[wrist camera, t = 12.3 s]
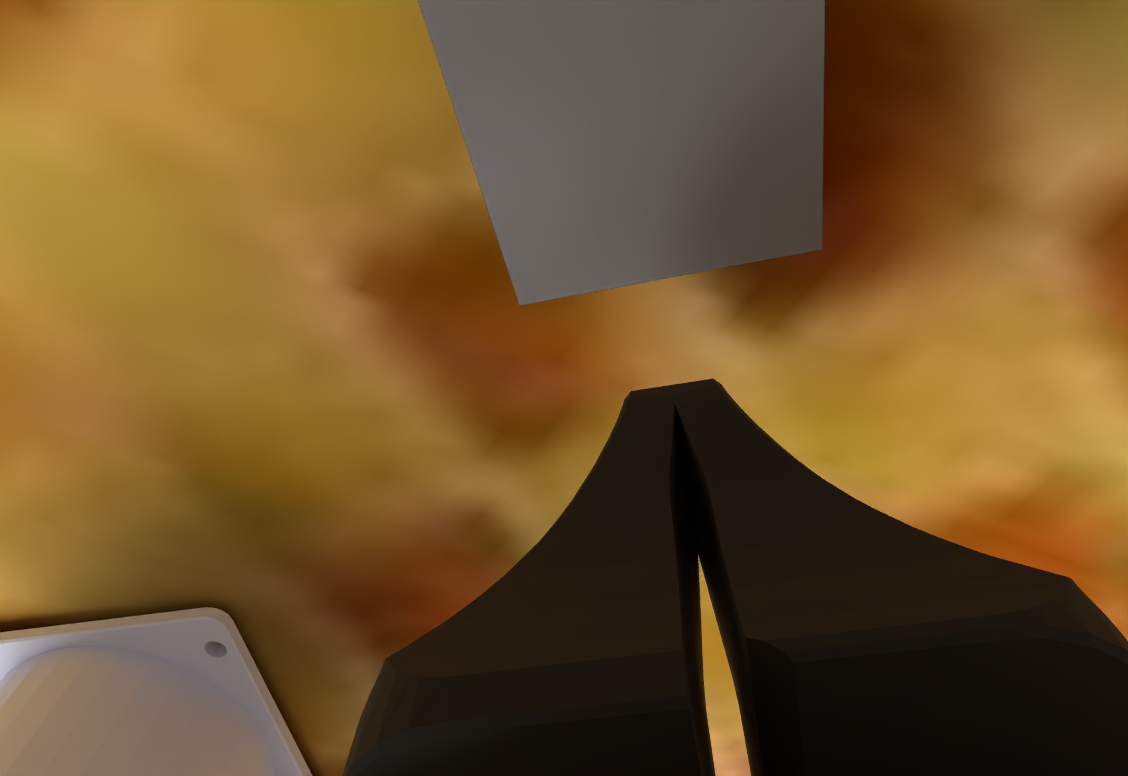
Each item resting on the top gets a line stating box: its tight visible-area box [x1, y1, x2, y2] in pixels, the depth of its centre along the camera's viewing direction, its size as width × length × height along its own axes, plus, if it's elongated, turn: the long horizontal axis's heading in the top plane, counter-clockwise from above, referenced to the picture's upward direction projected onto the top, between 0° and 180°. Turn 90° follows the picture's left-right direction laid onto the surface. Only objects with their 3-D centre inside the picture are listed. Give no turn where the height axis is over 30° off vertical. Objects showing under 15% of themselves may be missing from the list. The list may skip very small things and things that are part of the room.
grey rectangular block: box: [418, 0, 825, 305], centre depth 12 cm, size 2×5×7 cm
